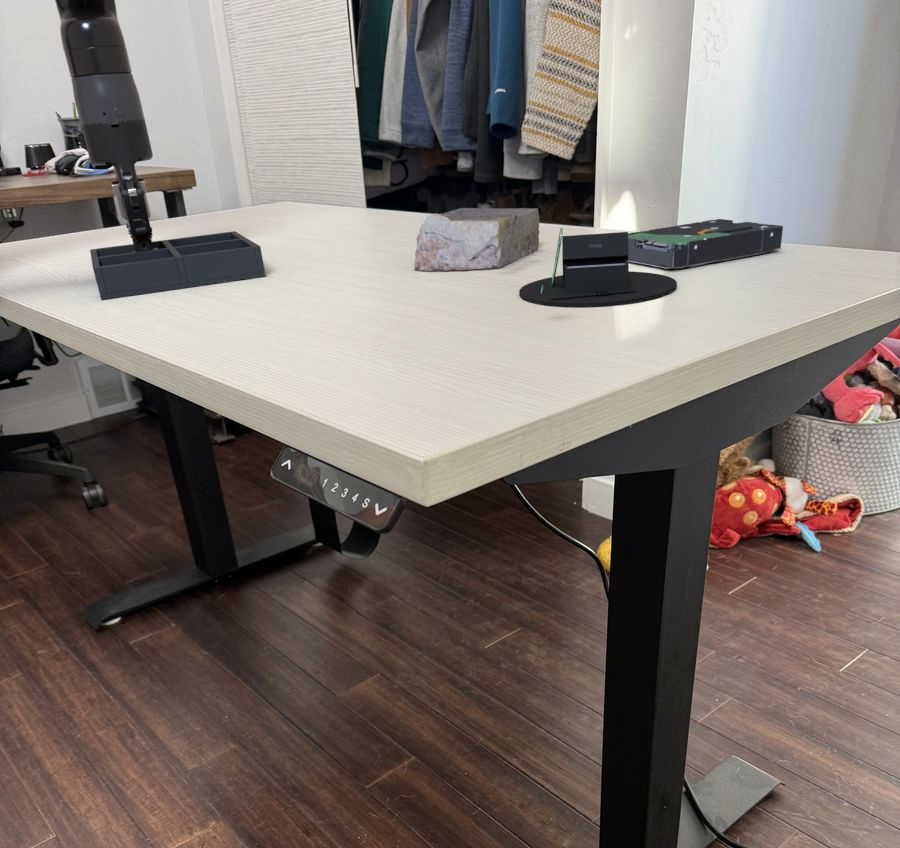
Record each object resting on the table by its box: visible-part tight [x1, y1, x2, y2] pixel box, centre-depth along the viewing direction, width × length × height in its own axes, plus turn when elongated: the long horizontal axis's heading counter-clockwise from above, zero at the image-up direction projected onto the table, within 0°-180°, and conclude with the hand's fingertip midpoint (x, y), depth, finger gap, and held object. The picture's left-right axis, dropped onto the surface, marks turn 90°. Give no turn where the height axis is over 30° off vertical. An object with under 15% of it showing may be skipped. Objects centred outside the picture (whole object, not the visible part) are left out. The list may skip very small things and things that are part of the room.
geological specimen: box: [413, 207, 540, 273], centre depth 103 cm, size 11×6×15 cm
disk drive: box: [628, 218, 784, 270], centre depth 94 cm, size 10×3×15 cm
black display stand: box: [518, 227, 678, 308], centre depth 82 cm, size 15×15×6 cm
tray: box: [89, 230, 266, 301], centre depth 110 cm, size 19×19×4 cm
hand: (148, 268), depth 113 cm, fingers closed
